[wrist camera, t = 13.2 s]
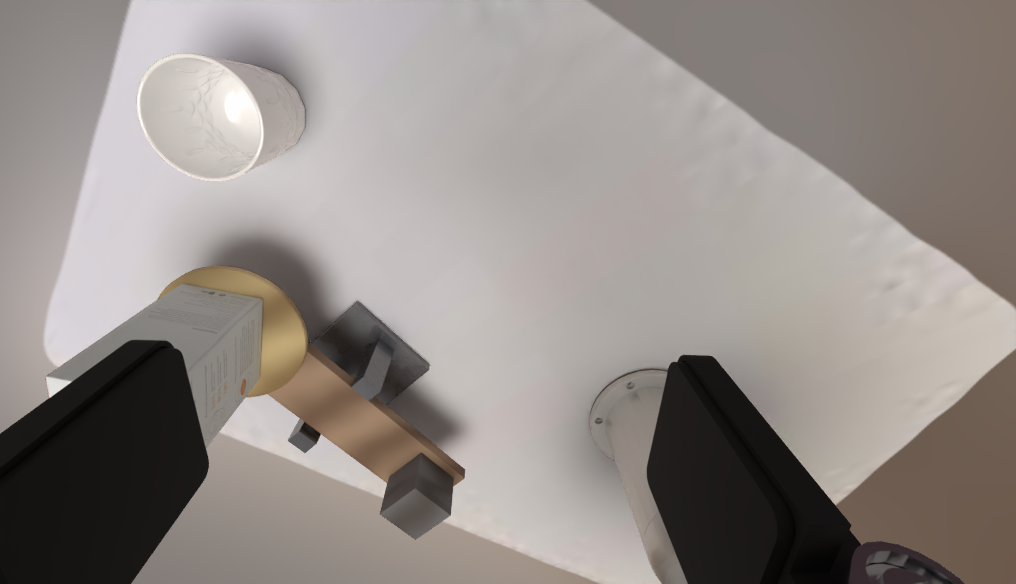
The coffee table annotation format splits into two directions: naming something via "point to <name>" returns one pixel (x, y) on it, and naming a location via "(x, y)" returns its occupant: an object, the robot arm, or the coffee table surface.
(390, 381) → the beam stand
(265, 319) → the beam
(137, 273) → the coffee table surface
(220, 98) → the white cup
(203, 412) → the small box
